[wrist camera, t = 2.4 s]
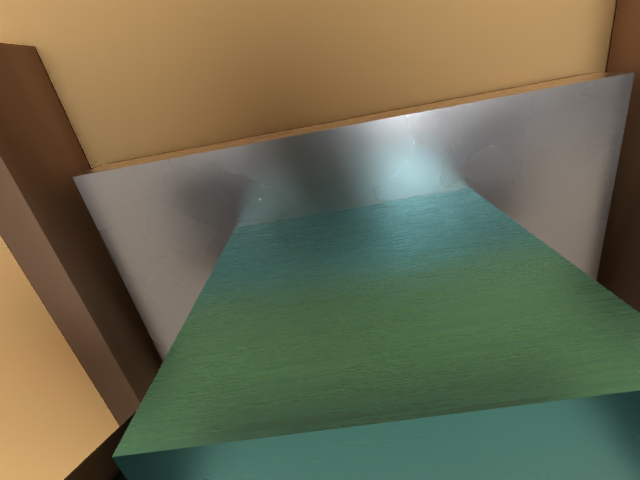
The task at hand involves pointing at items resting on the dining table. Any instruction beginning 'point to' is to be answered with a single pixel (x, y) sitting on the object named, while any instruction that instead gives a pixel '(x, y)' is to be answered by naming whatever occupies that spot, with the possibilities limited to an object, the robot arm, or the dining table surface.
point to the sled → (384, 295)
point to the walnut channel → (98, 266)
